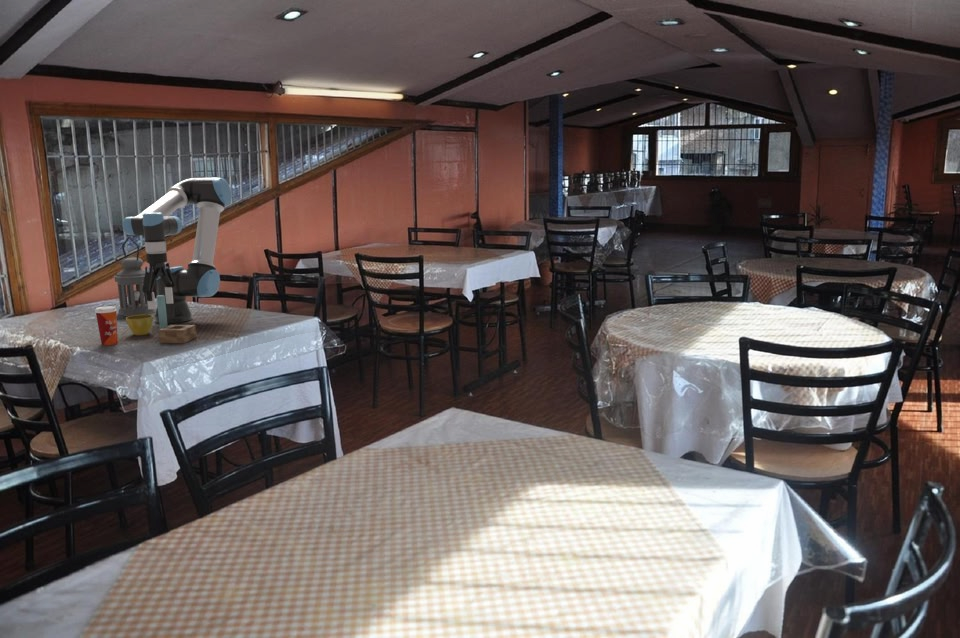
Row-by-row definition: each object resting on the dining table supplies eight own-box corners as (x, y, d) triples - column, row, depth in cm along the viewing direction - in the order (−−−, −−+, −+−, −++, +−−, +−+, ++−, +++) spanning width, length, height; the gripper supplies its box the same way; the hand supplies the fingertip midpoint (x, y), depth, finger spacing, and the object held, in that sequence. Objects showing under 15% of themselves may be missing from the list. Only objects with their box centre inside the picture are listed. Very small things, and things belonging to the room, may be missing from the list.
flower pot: (141, 330, 324) (139, 313, 323) (160, 332, 321) (158, 315, 319) (122, 336, 315) (120, 318, 314) (141, 337, 312) (139, 319, 310)
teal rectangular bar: (162, 334, 316) (158, 295, 313) (169, 334, 316) (166, 295, 313) (159, 336, 313) (154, 296, 310) (166, 336, 313) (162, 296, 310)
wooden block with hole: (172, 337, 311) (171, 324, 310) (196, 337, 310) (195, 324, 309) (159, 342, 301) (158, 330, 300) (184, 343, 300) (182, 330, 299)
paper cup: (112, 346, 297) (108, 309, 295) (94, 345, 299) (89, 309, 296) (125, 341, 305) (121, 306, 302) (107, 341, 306) (103, 305, 304)
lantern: (164, 309, 371) (157, 235, 364) (141, 316, 355) (133, 238, 348) (133, 308, 375) (126, 235, 368) (109, 315, 359) (100, 238, 353)
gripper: (163, 249, 321) (168, 301, 325) (129, 255, 296) (134, 311, 300) (181, 249, 320) (185, 301, 324) (148, 255, 295) (153, 311, 299)
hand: (161, 306), depth 312 cm, fingers open, 13 cm apart
